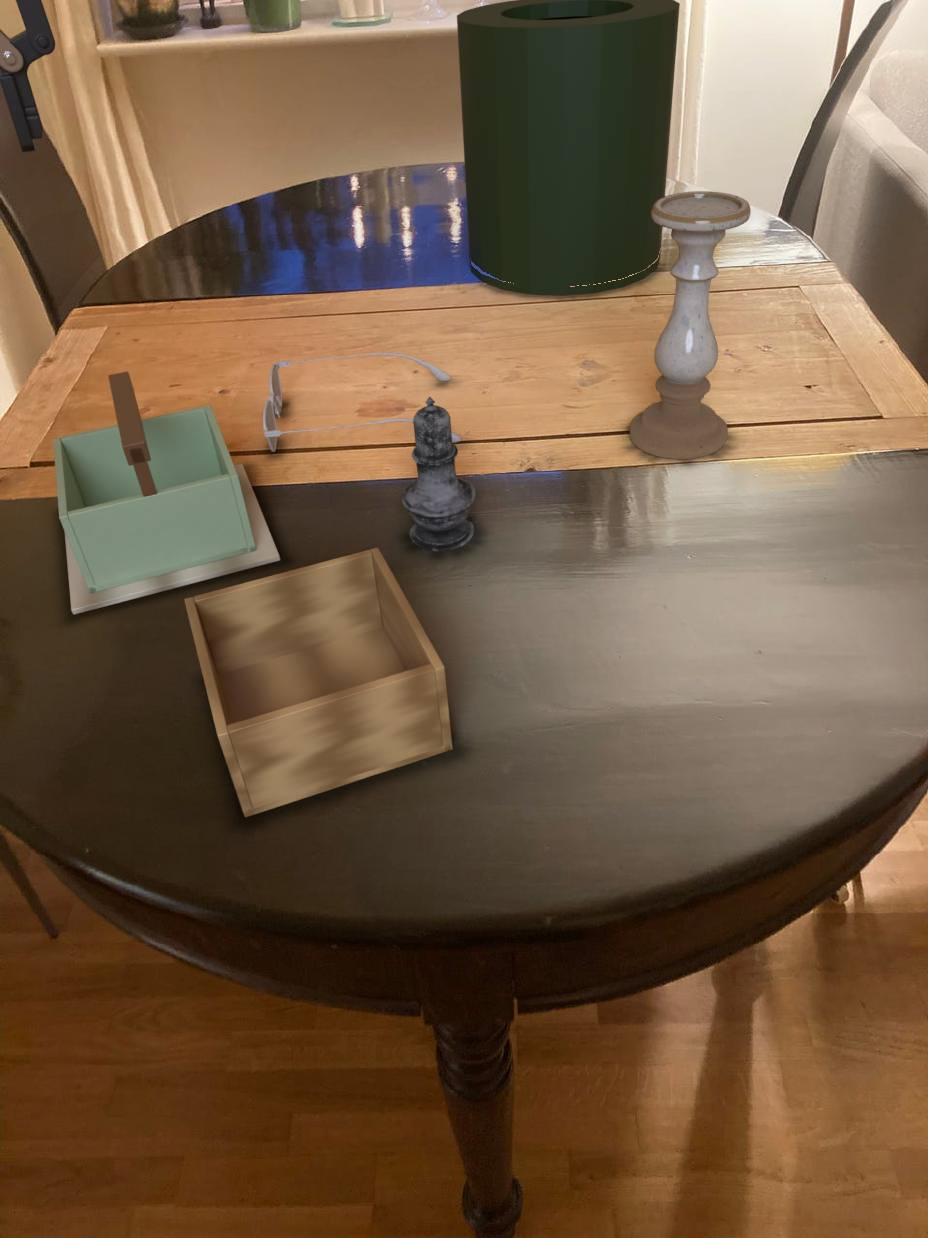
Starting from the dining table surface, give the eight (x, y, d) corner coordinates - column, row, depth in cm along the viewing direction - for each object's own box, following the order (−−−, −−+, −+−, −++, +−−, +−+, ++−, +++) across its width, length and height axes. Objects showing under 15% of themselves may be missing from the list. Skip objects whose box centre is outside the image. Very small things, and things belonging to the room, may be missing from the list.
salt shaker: (394, 547, 74) (376, 410, 66) (422, 507, 78) (408, 375, 70) (463, 558, 72) (453, 420, 64) (487, 518, 76) (480, 383, 69)
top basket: (89, 593, 71) (37, 465, 63) (80, 510, 80) (34, 389, 73) (256, 550, 74) (225, 423, 67) (228, 474, 83) (198, 356, 76)
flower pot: (537, 311, 109) (535, 35, 92) (435, 255, 127) (417, 14, 109) (700, 264, 118) (728, 4, 100) (585, 217, 136) (591, -12, 118)
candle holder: (722, 465, 80) (755, 223, 68) (621, 455, 83) (635, 219, 70) (730, 418, 87) (762, 189, 74) (637, 410, 89) (652, 186, 76)
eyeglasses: (279, 392, 97) (272, 356, 94) (450, 376, 97) (447, 340, 95) (268, 466, 85) (260, 427, 82) (463, 447, 86) (460, 408, 83)
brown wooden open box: (245, 818, 54) (217, 736, 49) (209, 678, 63) (183, 598, 59) (452, 749, 57) (444, 666, 52) (389, 626, 66) (378, 546, 62)
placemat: (73, 615, 70) (71, 610, 69) (64, 510, 81) (62, 505, 81) (280, 560, 73) (279, 555, 73) (243, 467, 85) (242, 463, 85)
